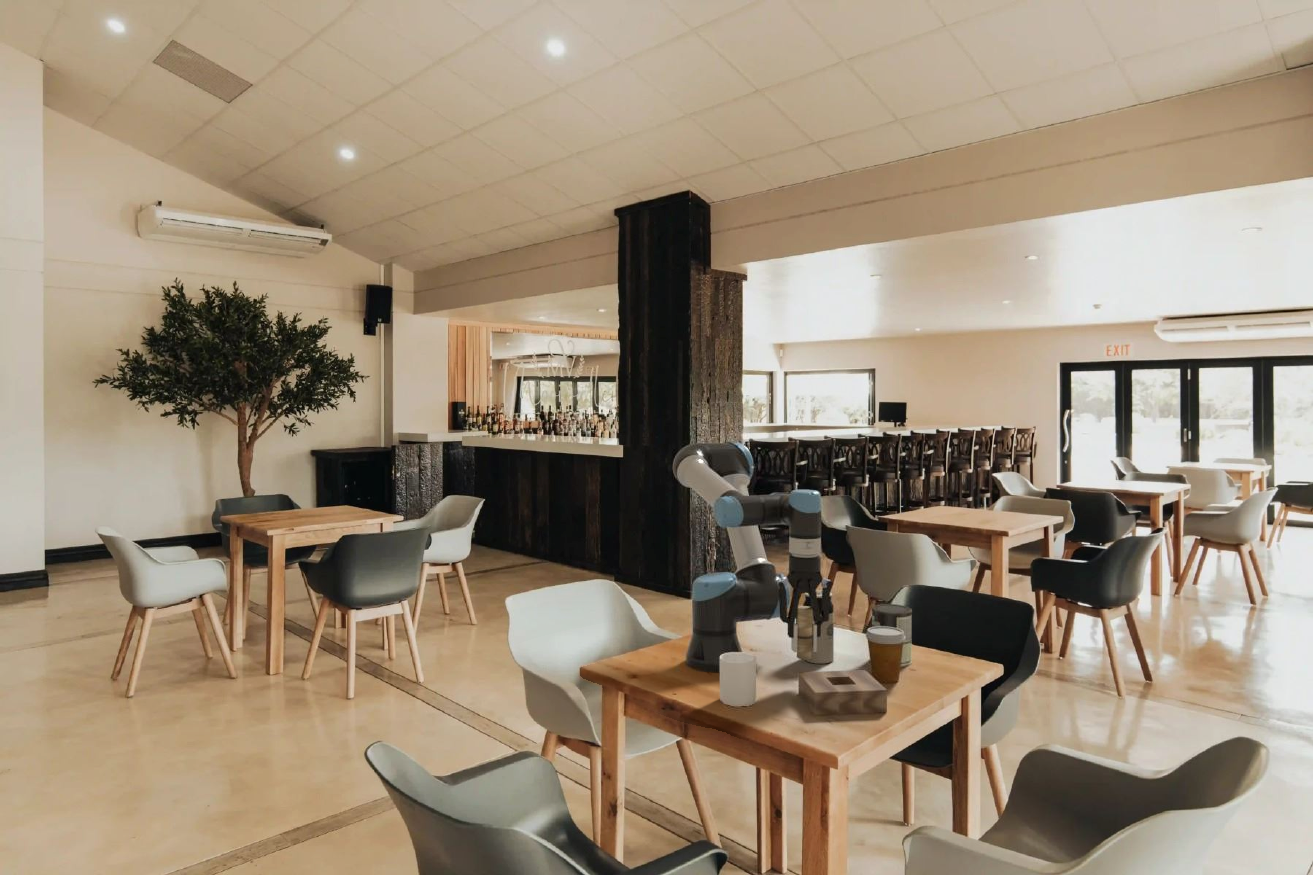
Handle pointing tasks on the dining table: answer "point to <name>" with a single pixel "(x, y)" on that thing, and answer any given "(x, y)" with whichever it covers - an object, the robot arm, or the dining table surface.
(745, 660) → the cup
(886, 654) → the disposable coffee cup
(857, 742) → the dining table surface
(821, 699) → the board
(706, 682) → the dining table surface
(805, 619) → the peg
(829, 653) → the travel mug
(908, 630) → the coffee can
